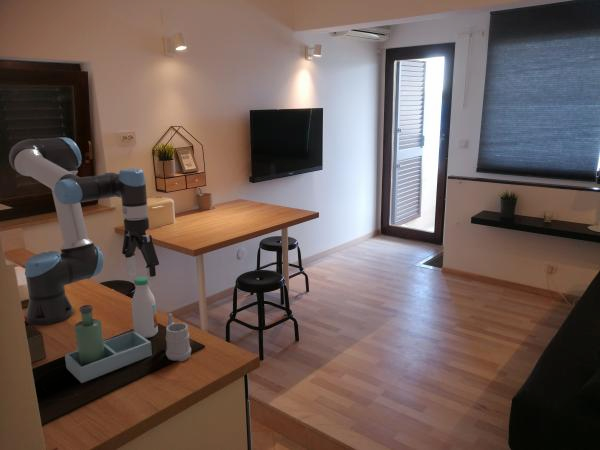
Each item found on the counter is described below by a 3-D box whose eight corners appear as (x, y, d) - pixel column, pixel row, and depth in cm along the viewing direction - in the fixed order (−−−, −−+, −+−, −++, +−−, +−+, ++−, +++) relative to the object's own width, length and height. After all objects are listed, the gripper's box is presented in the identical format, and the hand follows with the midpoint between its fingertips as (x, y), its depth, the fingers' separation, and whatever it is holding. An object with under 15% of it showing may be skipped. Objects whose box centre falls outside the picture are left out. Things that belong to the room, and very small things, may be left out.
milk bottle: (151, 340, 158) (146, 283, 153) (129, 337, 160) (124, 281, 155) (162, 329, 166) (157, 275, 161) (141, 327, 167) (136, 273, 162)
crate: (66, 369, 141) (64, 354, 139) (135, 344, 155) (133, 330, 154) (81, 385, 133) (79, 368, 132) (152, 356, 148) (150, 342, 146)
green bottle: (76, 368, 140) (68, 307, 136) (99, 359, 145) (93, 300, 141) (86, 377, 136) (78, 314, 131) (110, 367, 140) (103, 307, 136)
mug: (171, 365, 143) (168, 328, 140) (158, 349, 152) (155, 314, 149) (195, 358, 147) (193, 322, 144) (181, 342, 157) (179, 308, 154)
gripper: (107, 213, 159) (114, 274, 164) (144, 226, 142) (150, 293, 147) (129, 210, 164) (134, 269, 169) (166, 221, 147) (172, 286, 152)
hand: (142, 280), depth 158 cm, fingers open, 13 cm apart
